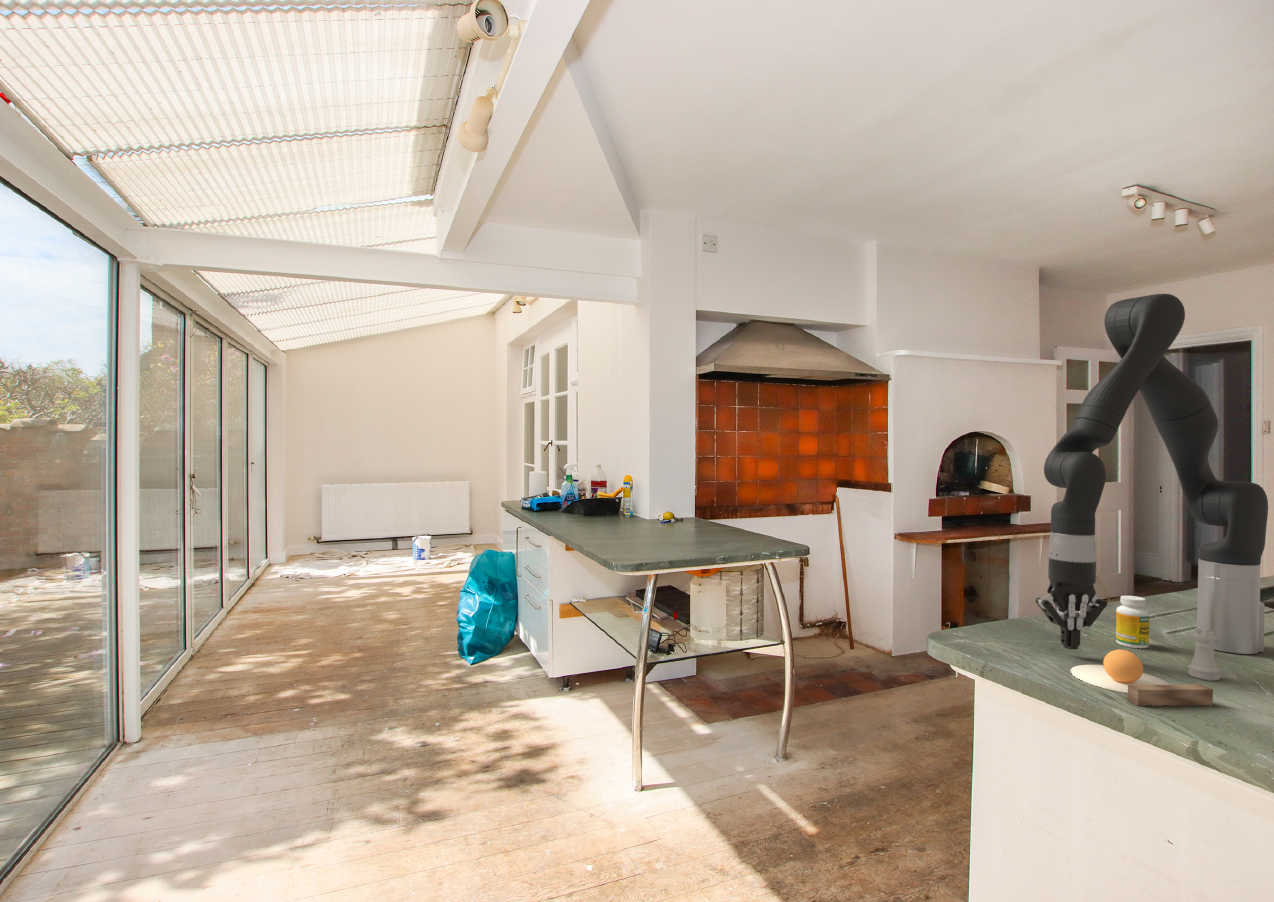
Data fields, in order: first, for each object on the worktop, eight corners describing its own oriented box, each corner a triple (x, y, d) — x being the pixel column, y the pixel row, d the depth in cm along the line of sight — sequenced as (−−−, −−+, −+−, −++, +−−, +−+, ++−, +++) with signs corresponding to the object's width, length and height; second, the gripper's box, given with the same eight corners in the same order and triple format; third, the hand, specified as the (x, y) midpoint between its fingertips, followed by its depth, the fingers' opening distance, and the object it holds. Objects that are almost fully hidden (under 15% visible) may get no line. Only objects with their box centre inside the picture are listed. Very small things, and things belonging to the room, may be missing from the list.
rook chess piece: (1213, 674, 115) (1214, 629, 115) (1226, 683, 111) (1227, 636, 111) (1182, 671, 117) (1183, 626, 117) (1194, 679, 113) (1195, 633, 112)
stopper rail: (1200, 700, 103) (1201, 684, 103) (1212, 705, 101) (1212, 689, 101) (1127, 700, 103) (1127, 684, 103) (1137, 705, 101) (1138, 689, 101)
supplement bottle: (1122, 639, 136) (1123, 593, 136) (1153, 646, 131) (1154, 598, 131) (1110, 643, 133) (1111, 596, 133) (1142, 650, 128) (1143, 602, 128)
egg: (1139, 688, 111) (1117, 661, 115) (1157, 669, 108) (1134, 642, 112) (1111, 690, 110) (1090, 662, 114) (1129, 670, 107) (1106, 643, 111)
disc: (1126, 665, 119) (1126, 664, 119) (1195, 695, 106) (1195, 693, 106) (1052, 665, 119) (1052, 664, 119) (1111, 695, 105) (1111, 694, 105)
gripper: (1051, 560, 120) (1049, 654, 120) (1121, 560, 120) (1119, 654, 121) (1025, 553, 127) (1023, 642, 128) (1091, 553, 128) (1089, 641, 128)
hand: (1070, 647), depth 124 cm, fingers closed
